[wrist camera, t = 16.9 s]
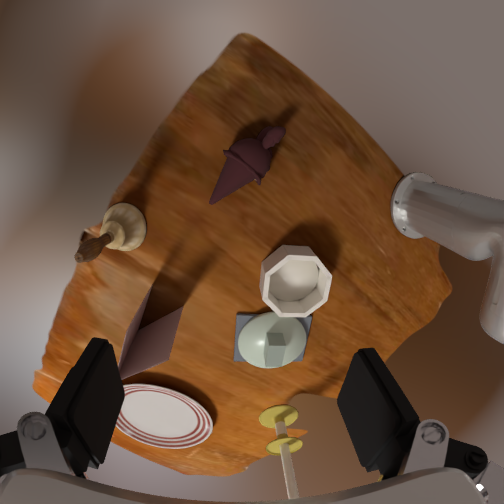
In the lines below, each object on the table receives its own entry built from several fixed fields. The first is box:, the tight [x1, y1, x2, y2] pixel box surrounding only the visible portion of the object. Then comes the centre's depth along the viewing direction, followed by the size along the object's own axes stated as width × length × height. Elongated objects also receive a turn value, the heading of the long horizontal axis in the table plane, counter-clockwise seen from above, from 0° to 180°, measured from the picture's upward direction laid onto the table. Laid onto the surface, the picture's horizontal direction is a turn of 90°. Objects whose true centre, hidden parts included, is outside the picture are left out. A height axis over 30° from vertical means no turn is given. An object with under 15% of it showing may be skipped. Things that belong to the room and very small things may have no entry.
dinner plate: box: [115, 384, 213, 449], centre depth 57 cm, size 28×27×3 cm
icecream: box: [209, 126, 286, 205], centre depth 39 cm, size 7×7×15 cm
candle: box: [259, 405, 303, 499], centre depth 48 cm, size 10×10×27 cm
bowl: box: [260, 245, 332, 317], centre depth 46 cm, size 11×11×5 cm
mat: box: [234, 314, 312, 361], centre depth 52 cm, size 14×11×1 cm
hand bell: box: [75, 203, 146, 263], centre depth 36 cm, size 8×8×16 cm
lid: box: [238, 312, 306, 368], centre depth 50 cm, size 13×13×5 cm
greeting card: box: [118, 284, 183, 380], centre depth 42 cm, size 11×7×15 cm, turn 120°
